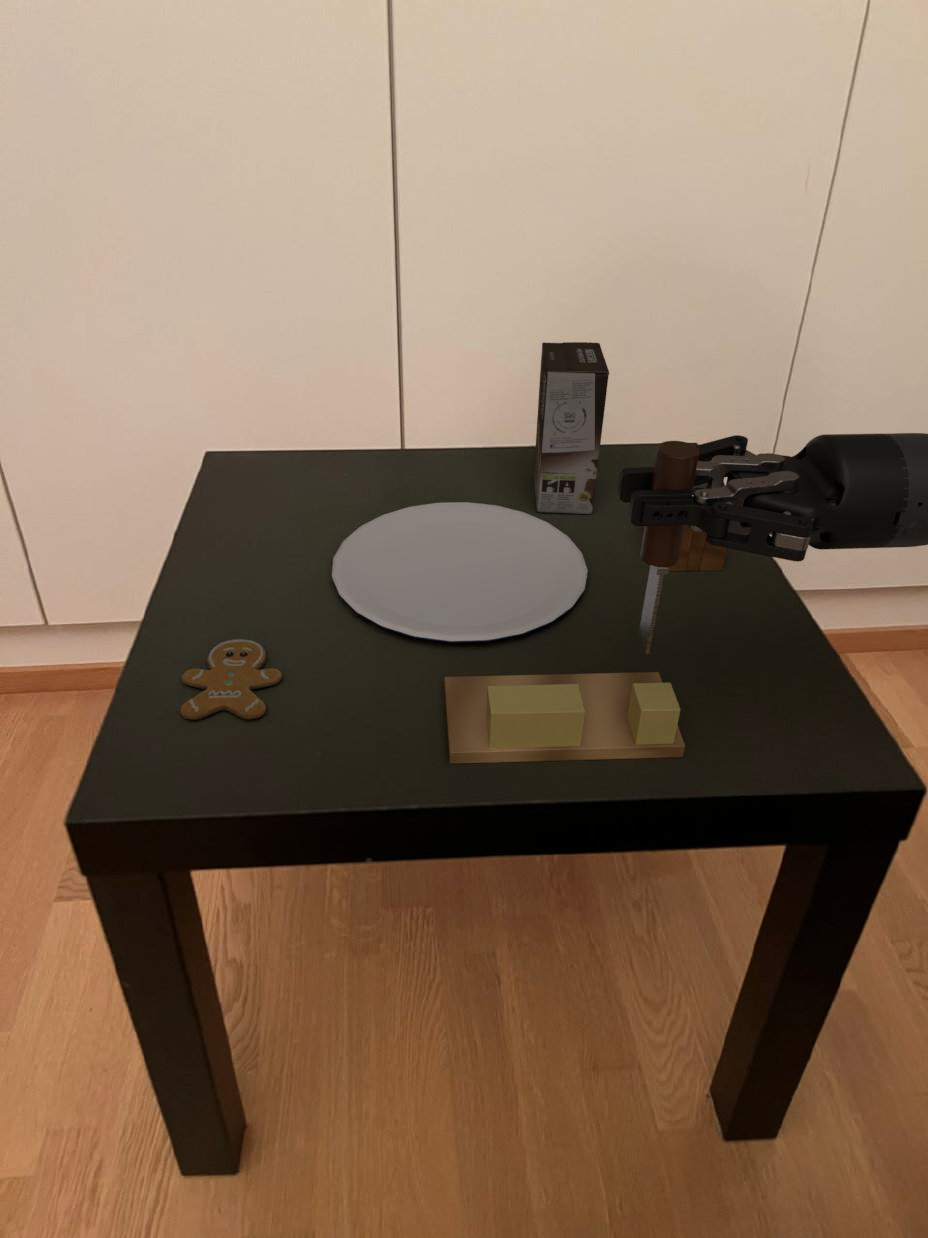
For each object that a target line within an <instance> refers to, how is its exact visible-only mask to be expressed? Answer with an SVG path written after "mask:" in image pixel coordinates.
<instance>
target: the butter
mask: <svg viewBox="0 0 928 1238" xmlns="http://www.w3.org/2000/svg"><path fill="white" fill-rule="evenodd" d="M584 716H585V709H584V705H583V701H582V697H581V693H580V689H579V685H578V684H557V685H515V686H488V687H487V706H486V726H487V734H488V743H489V748H520V747H556V746H581V740H582V732H583V724H584Z"/></svg>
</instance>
